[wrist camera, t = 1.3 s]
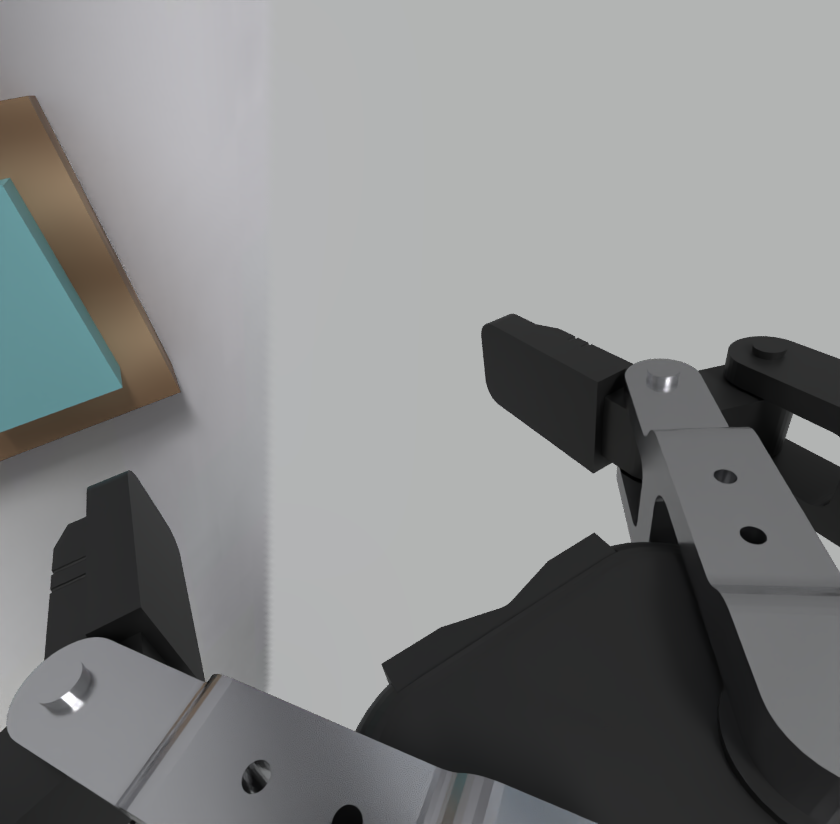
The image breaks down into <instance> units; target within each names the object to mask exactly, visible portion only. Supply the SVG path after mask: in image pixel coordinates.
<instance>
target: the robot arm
mask: <svg viewBox="0 0 840 824" xmlns="http://www.w3.org/2000/svg"><path fill="white" fill-rule="evenodd" d="M481 337H482V347H483V358H484V367H485V377H486V384H487V387H488V390H489V392H490V394H491V396H492V398H493V399H494V400H495V401H496V402H497V403H498V404H499V405H500V406H502V407H503V408H504V409H506V410H507V411H508V412H510V413H512V414H513V415H514V416H515V417H517V418H518V419H519V420H521V421H522V422H524V423H525V424H526V425H528V426H529V427H530V428H532V429H533V430H534V431H536V432H537V433H539V434H540V435H541V436H543V437H544V438H545V439H547V440H548V441H550V442H551V443H552V444H554V445H555V446H557V447H558V448H559V449H560V450H562V451H563V452H565V453H566V454H567V455H569V456H570V457H571V458H573V459H574V460H576V461H577V462H578V463H580V464H581V465H583V466H584V467H585V468H587V469H588V470H589V471H591V472H592V473H595V472H597V471H598V470H600V469H602V468H603V467H605V466H607V465H609V464H611V463H614V464H615V465H617V482H618V486H619V491H620V495H621V500H622V504H623V508H624V512H625V517H626V521H627V525H628V530H629V534H630V538H631V543H625V544H619V545H614V546H609V545H608V544H607V543H606V542H605V541H603V540H602V539H601V538H600V537H599V536H598V535H596V534H595V533H593V534H591V535H590V536H588V537H587V538H585V539H583V540H582V541H580V542H579V543H577V544H575V545H574V546H572V547H570V548H569V549H567V550H565V551H564V552H562V553H561V554H559V555H557V556H556V557H554V558H553V559H551V560H549V561H548V562H547V563H546V564H545V565H544V566H543V567H542V568H541V569H540V571H539V572H538V573H537V574H536V575H535V576H534V577H533V578H532V579H531V580H530V582H529V583H528V584H527V585H526V586H525V587H524V588H523V589H522V590H521V591H520V592H519V594H518V595H517V596H516V597H515V598H514V599H513V600H512V601H511V602H510V603H509V604H508V605H506V606H504V607H502V608H500V609H496V610H494V611H490V612H487V613H484V614H481V615H478V616H475V617H472V618H469V619H466V620H463V621H459V622H457V623H453V624H450V625H447V626H444V627H441V628H439V629H437V630H436V631H434V632H433V633H431V634H429V635H428V636H426V637H425V638H423V639H421V640H420V641H418V642H416V643H415V644H413V645H412V646H410V647H408V648H407V649H405V650H403V651H402V652H400V653H399V654H397V655H395V656H394V657H392V658H391V659H389V660H387V661H386V662H384V663H382V667H383V669H384V672H385V675H386V677H387V680H388V682H389V685H388V686H387V687H386V688H385V689H384V690H383V691H382V692H381V693H380V694H379V696H378V697H377V698H376V699H375V701H374V702H373V703H372V705H371V706H370V708H369V709H368V710H367V712H366V713H365V715H364V717H363V718H362V720H361V722H360V723H359V725H358V727H357V729H356V731H353V730H351V729H348V728H346V727H344V726H341V725H339V724H337V723H335V722H332V721H330V720H327V719H325V718H323V717H321V716H318V715H316V714H314V713H311V712H309V711H307V710H304V709H302V708H300V707H297V706H295V705H293V704H291V703H288V702H286V701H284V700H281V699H279V698H277V697H274V696H272V695H270V694H268V693H265V692H263V691H261V690H258V689H256V688H254V687H251V686H249V685H247V684H244V683H242V682H240V681H238V680H235V679H233V678H230V677H228V676H224V675H220V674H214V675H212V676H211V678H210V679H209V681H208V682H205V678H204V673H203V668H202V663H201V658H200V653H199V648H198V643H197V638H196V633H195V628H194V623H193V618H192V613H191V608H190V603H189V598H188V593H187V588H186V582H185V577H184V572H183V567H182V562H181V557H180V553H179V549H178V546H177V544H176V541H175V539H174V536H173V534H172V532H171V530H170V528H169V527H168V525H167V523H166V522H165V520H164V519H163V517H162V515H161V514H160V512H159V511H158V509H157V508H156V506H155V505H154V503H153V501H152V500H151V498H150V497H149V495H148V494H147V492H146V491H145V489H144V487H143V486H142V484H141V483H140V481H139V480H138V478H137V477H136V475H135V474H134V473H133V472H132V471H130V470H128V471H126V472H124V473H121V474H119V475H116V476H114V477H111V478H109V479H107V480H104V481H102V482H99V483H97V484H94V485H92V486H90V487H88V488H87V507H86V517H85V518H82V519H80V520H78V521H75V522H73V523H71V524H68V525H67V527H66V529H65V530H64V532H63V534H62V536H61V537H60V539H59V541H58V542H57V544H56V546H55V548H54V551H53V563H52V572H53V575H51V587H50V589H51V591H52V593H51V594H50V599H49V611H48V622H47V634H46V646H45V658H44V661H43V662H42V663H41V664H40V665H39V666H38V667H37V668H36V669H35V670H34V671H33V672H32V673H31V674H30V675H29V676H28V677H27V678H26V680H25V681H24V682H23V684H22V685H21V686H20V688H19V689H18V691H17V693H16V694H15V696H14V698H13V700H12V702H11V704H10V707H9V710H8V714H7V722H6V724H7V727H6V728H4V729H3V730H2V731H1V732H0V824H840V572H839V570H838V569H837V567H836V565H835V564H834V562H833V561H832V559H831V557H830V555H829V554H828V552H827V550H826V549H825V547H824V546H823V544H822V542H821V540H820V539H819V537H818V535H817V534H816V532H817V533H819V534H820V535H822V536H823V537H825V538H827V539H828V540H830V541H831V542H833V543H834V544H836V545H838V546H839V547H840V467H839V466H837V465H835V464H833V463H832V462H830V461H828V460H826V459H824V458H822V457H820V456H818V455H816V454H814V453H812V452H810V451H809V450H807V449H805V448H803V447H801V446H799V445H797V444H795V443H793V442H791V441H789V440H787V439H786V438H785V437H786V434H787V431H788V428H789V424H790V421H791V418H792V415H793V414H796V415H798V416H800V417H802V418H804V419H806V420H808V421H810V422H812V423H814V424H817V425H819V426H821V427H823V428H825V429H827V430H829V431H831V432H833V433H835V434H836V435H838V436H839V437H840V359H838V358H835V357H833V356H830V355H827V354H824V353H822V352H819V351H816V350H814V349H811V348H808V347H806V346H803V345H800V344H797V343H795V342H792V341H789V340H785V339H781V338H776V337H767V336H757V337H747V338H743V339H740V340H737V341H735V342H733V343H732V344H731V345H730V347H729V349H728V354H727V358H726V363H725V365H722V366H717V367H713V368H708V369H704V370H699V371H697V370H696V369H695V368H694V367H692V366H690V365H688V364H686V363H683V362H680V361H676V360H670V359H648V360H644V361H640V362H637V363H635V364H632V363H630V362H628V361H626V360H624V359H622V358H619V357H617V356H615V355H613V354H611V353H609V352H607V351H605V350H603V349H600V348H598V347H596V346H594V345H592V344H591V345H589V344H588V342H586V341H583V340H581V339H579V338H577V339H575V336H573V335H571V334H568V333H567V332H565V331H563V330H560V329H558V328H553V327H547V326H542V325H536V324H534V323H532V322H530V321H528V320H526V319H524V318H522V317H520V316H518V315H515V314H509V315H507V316H504V317H502V318H500V319H497V320H495V321H492V322H490V323H488V324H485V325H484V326H483V328H482V333H481Z"/></svg>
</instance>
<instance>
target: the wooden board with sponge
mask: <svg viewBox="0 0 840 824" xmlns="http://www.w3.org/2000/svg"><path fill="white" fill-rule="evenodd" d="M6 178H11V180H12V182H13V184H14V185H15V187H16V189H17V191H18V192H19V194H20V196H21V197H22V199H23V201H24V203H25V204H26V206H27V208H28V209H29V211H30V213H31V215H32V216H33V218H34V220H35V222H36V223H37V225H38V227H39V228H40V230H41V232H42V234H43V235H44V237H45V239H46V240H47V242H48V244H49V246H50V247H51V249H52V251H53V253H54V254H55V256H56V258H57V259H58V261H59V263H60V265H61V266H62V268H63V270H64V271H65V273H66V275H67V277H68V278H69V280H70V282H71V284H72V285H73V287H74V289H75V290H76V292H77V294H78V296H79V297H80V299H81V301H82V302H83V304H84V306H85V308H86V309H87V311H88V313H89V314H90V316H91V318H92V320H93V321H94V323H95V325H96V327H97V328H98V330H99V332H100V333H101V335H102V337H103V339H104V340H105V342H106V344H107V345H108V347H109V349H110V351H111V352H112V354H113V356H114V358H115V359H116V361H117V363H118V364H119V366H120V372H121V379H122V387H123V388H120V389H118V390H115V391H112V392H109V393H107V394H104V395H101V396H99V397H96V398H93V399H90V400H88V401H85V402H82V403H79V404H77V405H74V406H71V407H68V408H66V409H63V410H60V411H58V412H55V413H52V414H49V415H47V416H44V417H41V418H38V419H36V420H33V421H30V422H28V423H25V424H22V425H19V426H17V427H14V428H11V429H8V430H6V431H3V432H0V461H2V460H4V459H7V458H9V457H12V456H15V455H17V454H20V453H22V452H25V451H28V450H30V449H33V448H36V447H38V446H41V445H43V444H46V443H49V442H51V441H54V440H57V439H59V438H62V437H64V436H67V435H70V434H72V433H75V432H77V431H80V430H83V429H85V428H88V427H91V426H93V425H96V424H98V423H101V422H104V421H106V420H109V419H112V418H114V417H117V416H119V415H122V414H125V413H127V412H130V411H132V410H135V409H138V408H140V407H143V406H146V405H148V404H151V403H153V402H156V401H159V400H161V399H164V398H166V397H169V396H172V395H174V394H177V393H180V392H181V391H180V388H179V385H178V382H177V379H176V376H175V373H174V370H173V367H172V364H171V362H170V360H169V358H168V356H167V354H166V352H165V350H164V348H163V346H162V344H161V342H160V340H159V338H158V336H157V334H156V332H155V330H154V328H153V326H152V324H151V322H150V320H149V318H148V316H147V315H146V313H145V311H144V309H143V307H142V305H141V303H140V301H139V299H138V297H137V295H136V293H135V291H134V289H133V287H132V285H131V283H130V281H129V279H128V277H127V275H126V273H125V271H124V269H123V267H122V265H121V264H120V262H119V260H118V258H117V256H116V254H115V252H114V250H113V248H112V246H111V244H110V242H109V240H108V238H107V236H106V234H105V232H104V230H103V228H102V226H101V224H100V222H99V220H98V218H97V216H96V214H95V212H94V211H93V209H92V207H91V205H90V203H89V201H88V199H87V197H86V195H85V193H84V191H83V189H82V187H81V185H80V183H79V181H78V179H77V177H76V175H75V173H74V171H73V169H72V167H71V165H70V163H69V161H68V159H67V158H66V156H65V154H64V152H63V150H62V148H61V146H60V144H59V142H58V140H57V138H56V136H55V134H54V132H53V130H52V128H51V126H50V124H49V122H48V120H47V118H46V116H45V114H44V112H43V110H42V108H41V106H40V105H39V103H38V101H37V99H36V97H35V96H25V97H19V98H14V99H8V100H3V101H0V180H2V179H6Z"/></svg>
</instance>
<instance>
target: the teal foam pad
mask: <svg viewBox="0 0 840 824" xmlns="http://www.w3.org/2000/svg"><path fill="white" fill-rule="evenodd" d="M120 388H123V387H122V379H121V372H120V366H119V364H118V363H117V361H116V359H115V358H114V356H113V354H112V352H111V351H110V349H109V347H108V345H107V344H106V342H105V340H104V339H103V337H102V335H101V333H100V332H99V330H98V328H97V327H96V325H95V323H94V321H93V320H92V318H91V316H90V314H89V313H88V311H87V309H86V308H85V306H84V304H83V302H82V301H81V299H80V297H79V296H78V294H77V292H76V290H75V289H74V287H73V285H72V284H71V282H70V280H69V278H68V277H67V275H66V273H65V271H64V270H63V268H62V266H61V265H60V263H59V261H58V259H57V258H56V256H55V254H54V253H53V251H52V249H51V247H50V246H49V244H48V242H47V240H46V239H45V237H44V235H43V234H42V232H41V230H40V228H39V227H38V225H37V223H36V222H35V220H34V218H33V216H32V215H31V213H30V211H29V209H28V208H27V206H26V204H25V203H24V201H23V199H22V197H21V196H20V194H19V192H18V191H17V189H16V187H15V185H14V184H13V182H12V180H11V178H6V179H2V180H0V432H3V431H6V430H8V429H11V428H14V427H17V426H19V425H22V424H25V423H28V422H30V421H33V420H36V419H38V418H41V417H44V416H47V415H49V414H52V413H55V412H58V411H60V410H63V409H66V408H68V407H71V406H74V405H77V404H79V403H82V402H85V401H88V400H90V399H93V398H96V397H99V396H101V395H104V394H107V393H109V392H112V391H115V390H118V389H120Z"/></svg>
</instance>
